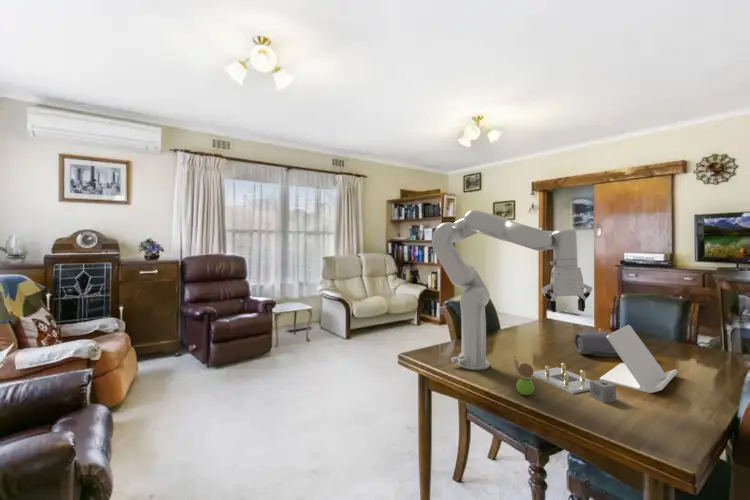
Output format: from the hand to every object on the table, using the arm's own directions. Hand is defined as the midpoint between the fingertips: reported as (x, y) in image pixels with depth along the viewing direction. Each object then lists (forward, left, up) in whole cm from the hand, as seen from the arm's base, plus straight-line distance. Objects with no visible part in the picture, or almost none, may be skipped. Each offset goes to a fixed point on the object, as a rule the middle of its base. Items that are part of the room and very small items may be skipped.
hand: (567, 311), depth 129 cm
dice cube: (-3, -16, -25) cm, 30 cm away
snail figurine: (-24, -4, -25) cm, 35 cm away
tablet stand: (+25, -9, -26) cm, 37 cm away
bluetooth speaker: (+39, +13, -25) cm, 49 cm away
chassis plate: (-2, -1, -25) cm, 25 cm away
